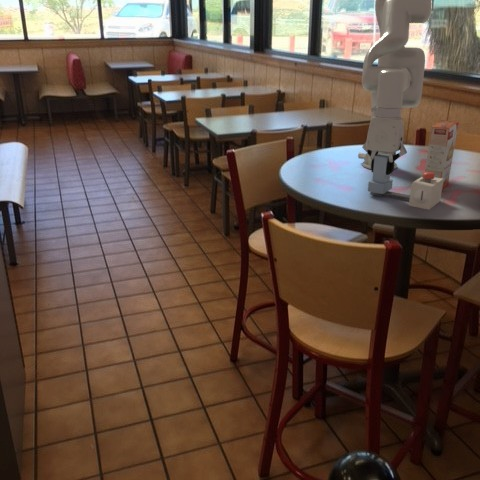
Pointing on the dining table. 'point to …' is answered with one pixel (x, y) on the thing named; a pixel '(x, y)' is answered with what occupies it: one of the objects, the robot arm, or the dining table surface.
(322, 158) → the dining table surface
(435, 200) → the white button housing
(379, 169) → the carriage
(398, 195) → the rail
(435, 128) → the cracker box
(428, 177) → the button
